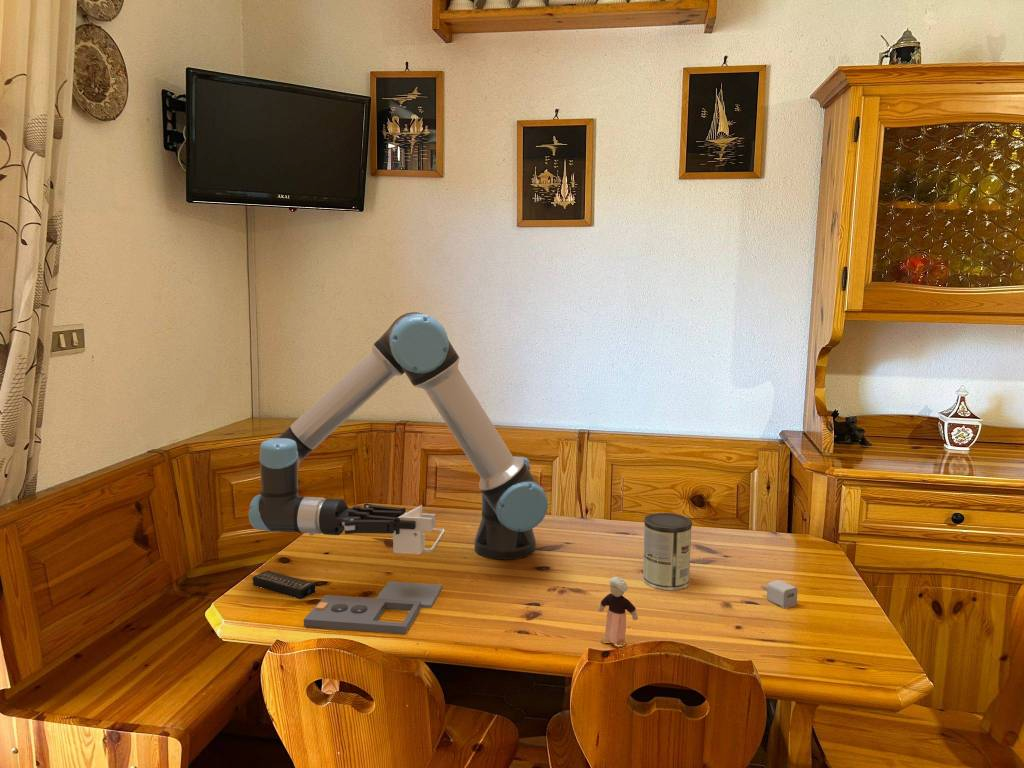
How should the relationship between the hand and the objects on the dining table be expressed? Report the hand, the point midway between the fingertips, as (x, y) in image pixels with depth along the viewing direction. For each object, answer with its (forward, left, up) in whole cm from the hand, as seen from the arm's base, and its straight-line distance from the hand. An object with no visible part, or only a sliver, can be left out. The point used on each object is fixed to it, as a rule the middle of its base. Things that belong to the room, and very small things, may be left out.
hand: (433, 522), depth 149 cm
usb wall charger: (-71, -9, -16) cm, 73 cm away
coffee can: (-49, -16, -16) cm, 54 cm away
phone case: (+10, -32, -17) cm, 38 cm away
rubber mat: (+5, 0, -16) cm, 17 cm away
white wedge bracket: (+6, -1, -7) cm, 9 cm away
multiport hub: (+33, +1, -17) cm, 37 cm away
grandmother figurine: (-38, +14, -16) cm, 43 cm away
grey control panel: (+11, +11, -16) cm, 23 cm away
